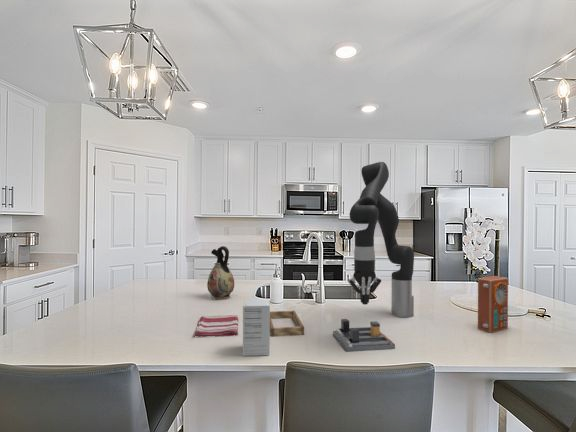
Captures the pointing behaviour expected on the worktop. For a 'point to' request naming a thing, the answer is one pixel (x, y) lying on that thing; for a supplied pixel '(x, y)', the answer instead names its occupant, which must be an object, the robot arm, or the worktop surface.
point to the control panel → (492, 303)
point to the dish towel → (217, 326)
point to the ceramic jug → (220, 276)
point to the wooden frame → (286, 330)
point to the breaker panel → (360, 338)
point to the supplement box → (256, 327)
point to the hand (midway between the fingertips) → (364, 303)
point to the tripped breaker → (375, 328)
